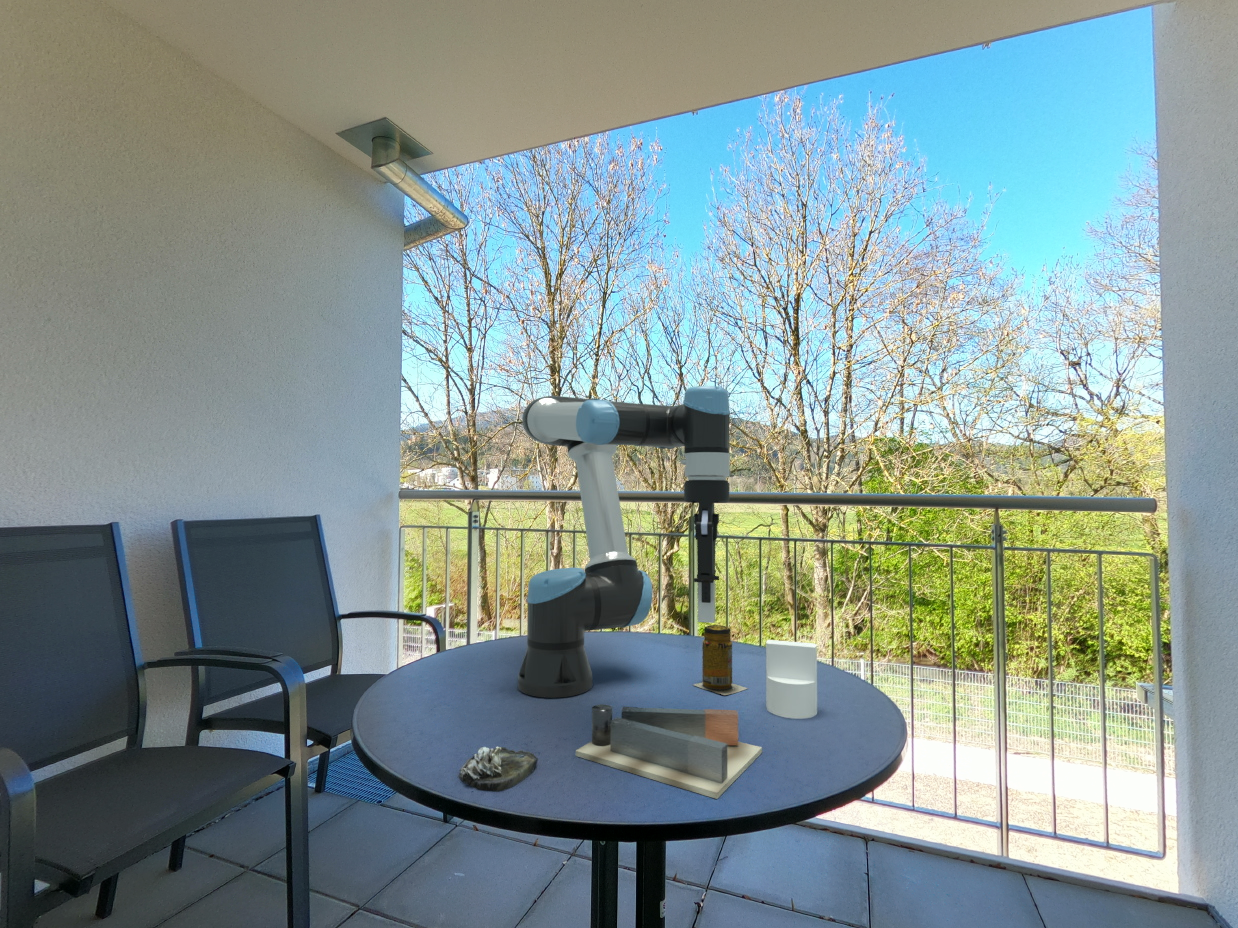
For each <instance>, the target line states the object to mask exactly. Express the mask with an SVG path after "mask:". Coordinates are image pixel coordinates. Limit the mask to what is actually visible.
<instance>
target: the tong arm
mask: <svg viewBox="0 0 1238 928" xmlns="http://www.w3.org/2000/svg"><path fill="white" fill-rule="evenodd" d="M620 718H622V719H626V720H630V721H634V722H638V723H643V724H647V725H651V726H655V727H659V728H663V729H667V730H671V731H675V732H679V733H683V734H687V735H691V736H694V735H695V736H699V737H703V738H707V739H711V740H715V741H719V742H723V743H727V745H738V742H739V713H738V710H735V709H709V708H705V709H688V708H685V709H684V708H662V707H636V706H635V707H632V706H622V707H621V716H620Z"/></svg>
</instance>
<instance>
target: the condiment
mask: <svg viewBox="0 0 1238 928" xmlns="http://www.w3.org/2000/svg"><path fill="white" fill-rule="evenodd" d="M703 636H704V638H703V641H702V662H701V663H702V667H701V668H702V677H701V679H702V682H698V683H694V684H693V686H695V687H698V688H700V689H702V690H706V691H710V692H712V693H715V694H718V695H720V694H721V695H723V696H727V695H733V694H736V693H739V692H741V691H745V690H748V687H745V686H742V685H738V684H736V683H735V684H734V683H733V642H732V640H731V628H730V627H729V626H726V625H720V624H712V625H707V626H705V627H704V635H703Z"/></svg>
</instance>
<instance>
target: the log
mask: <svg viewBox="0 0 1238 928" xmlns="http://www.w3.org/2000/svg"><path fill="white" fill-rule="evenodd" d="M538 760H539V759H538V757H537V756H536V755H535V754H534V753H533V752H531V751H525V750H523V749H520V750H518V751H516V750H514V749H510V750H509V749H508V748H507V747H503V746H496V747H495V748H492V747H490V748H489V747H486V746H482V747H480V748H477V753H474V754H473V756H472V757H469V758H468V759H467V760H466V761H465V763H464V764H463V765H462V767H461V768H460V770H459V774H458V778H459V779H460V780H459V781H461V782H462V783H465V784H466V785H468V786H470V788H472V789H476V790H477V791H484V792H504V791H506V790H509V789H511V788H513V787H515V786H517V785H518V784H520V783H521V782H522V781H524V780H525V779H526V778H527V777H529V776H530V775H531V774H532V773H533V772H534V770H535V767H536V764H537V762H538Z"/></svg>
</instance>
